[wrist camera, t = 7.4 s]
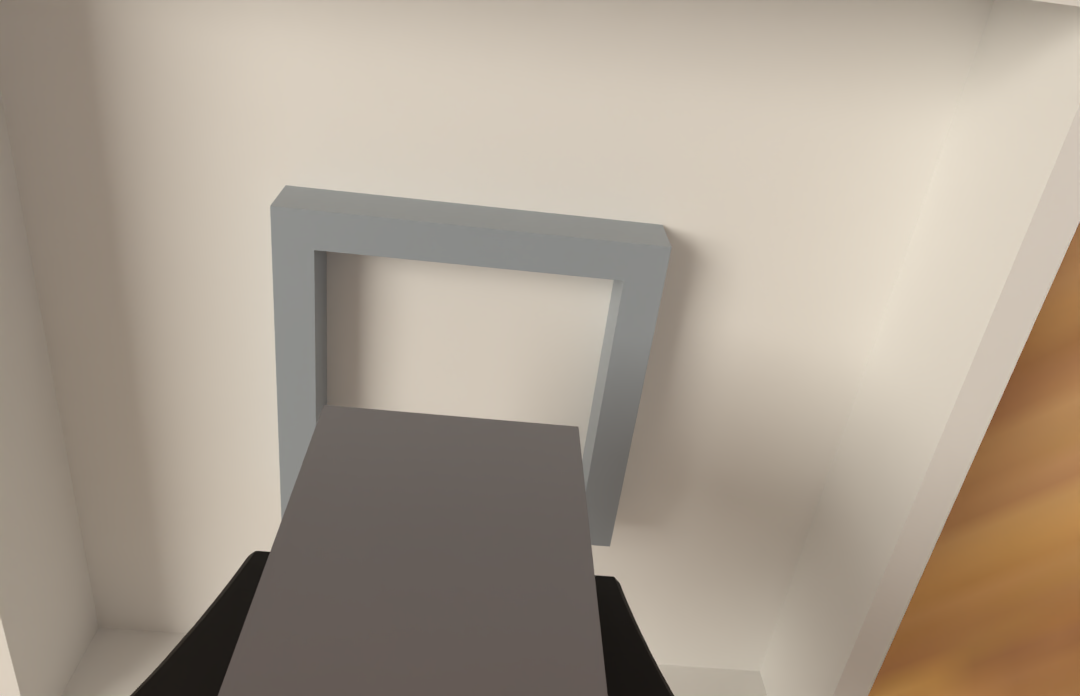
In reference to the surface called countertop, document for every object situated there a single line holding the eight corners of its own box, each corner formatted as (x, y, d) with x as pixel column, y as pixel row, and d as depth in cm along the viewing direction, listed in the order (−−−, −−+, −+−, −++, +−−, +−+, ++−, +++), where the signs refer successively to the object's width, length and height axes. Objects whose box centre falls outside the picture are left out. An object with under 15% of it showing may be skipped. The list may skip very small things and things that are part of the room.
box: (1045, -62, 16) (1197, -42, 12) (775, 677, 25) (817, 809, 22) (-88, -215, 14) (-289, -243, 11) (80, 632, 24) (3, 765, 20)
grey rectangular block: (578, 426, 14) (627, 878, 8) (547, 609, 16) (567, 1085, 9) (323, 405, 13) (159, 858, 7) (324, 593, 15) (195, 1076, 9)
